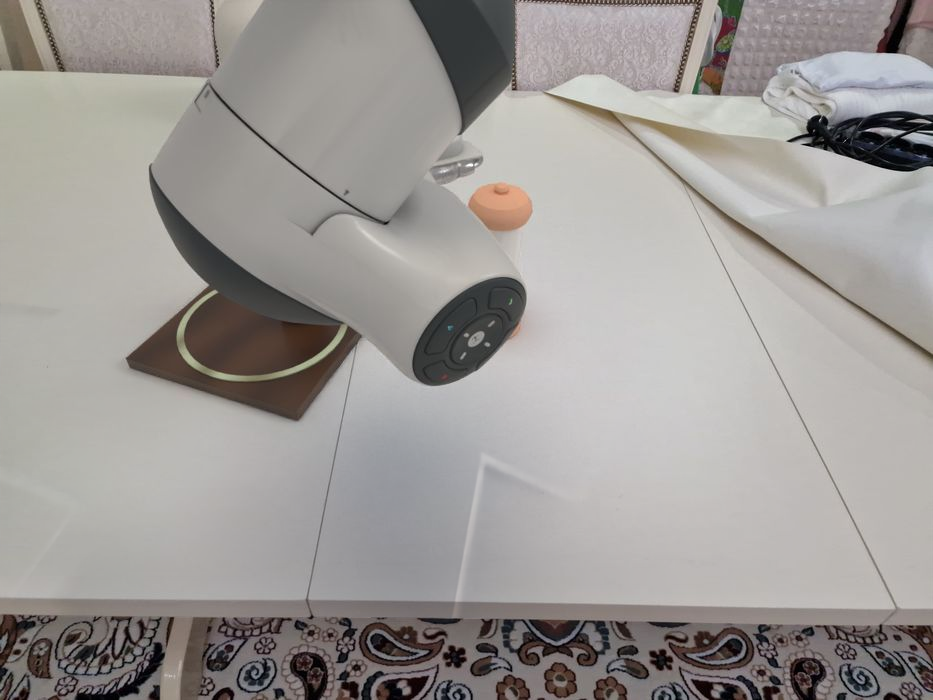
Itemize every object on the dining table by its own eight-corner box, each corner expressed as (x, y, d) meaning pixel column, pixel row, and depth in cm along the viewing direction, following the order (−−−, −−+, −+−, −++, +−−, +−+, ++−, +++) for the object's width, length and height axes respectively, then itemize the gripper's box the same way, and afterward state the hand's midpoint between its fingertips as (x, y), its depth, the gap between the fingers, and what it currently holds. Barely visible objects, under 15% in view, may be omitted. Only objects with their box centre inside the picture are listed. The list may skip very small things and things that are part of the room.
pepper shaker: (504, 349, 74) (518, 208, 61) (452, 329, 77) (454, 189, 64) (529, 317, 79) (547, 179, 66) (479, 298, 81) (487, 162, 68)
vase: (332, 105, 129) (316, -27, 112) (304, 138, 116) (282, -4, 100) (254, 99, 130) (228, -32, 114) (219, 131, 118) (184, -11, 102)
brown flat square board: (129, 367, 70) (124, 356, 69) (244, 265, 85) (241, 255, 84) (298, 421, 65) (295, 410, 64) (387, 302, 80) (387, 291, 79)
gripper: (497, 122, 42) (411, 61, 51) (183, 183, 34) (147, 99, 43) (492, 205, 46) (414, 135, 55) (211, 276, 39) (173, 182, 47)
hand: (294, 120), depth 49 cm, fingers open, 8 cm apart
